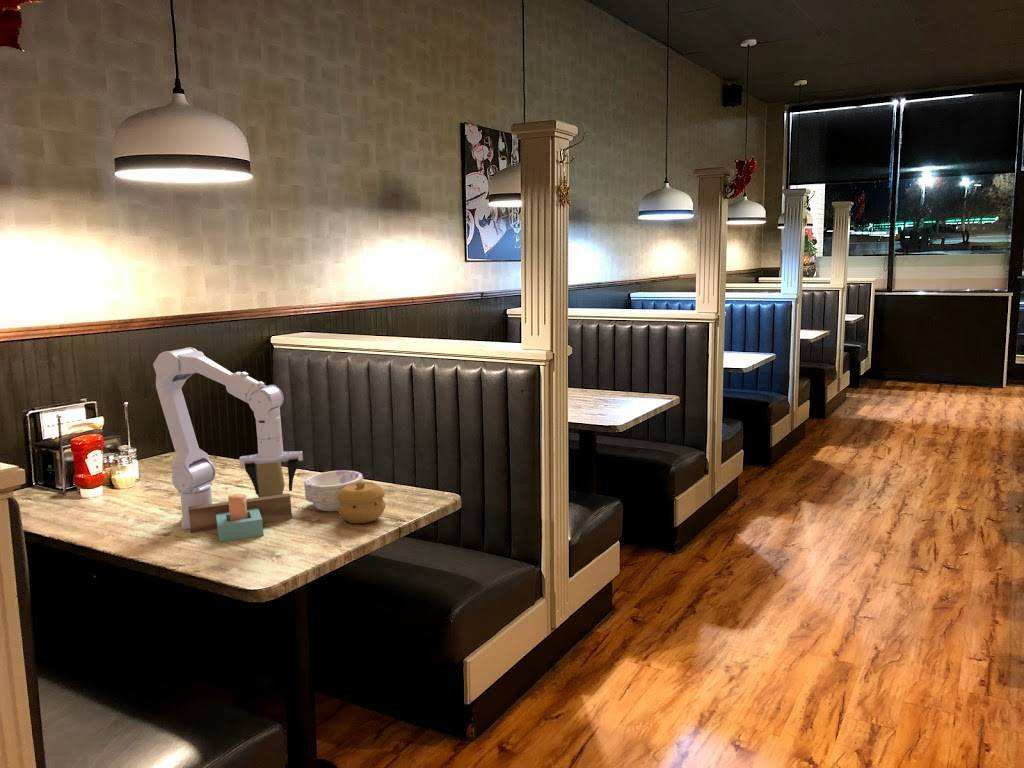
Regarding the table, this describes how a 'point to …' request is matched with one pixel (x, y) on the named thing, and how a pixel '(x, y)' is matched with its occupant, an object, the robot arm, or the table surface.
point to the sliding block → (239, 526)
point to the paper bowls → (329, 488)
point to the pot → (361, 502)
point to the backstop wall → (268, 508)
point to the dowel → (237, 507)
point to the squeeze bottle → (270, 479)
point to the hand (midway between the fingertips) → (274, 491)
